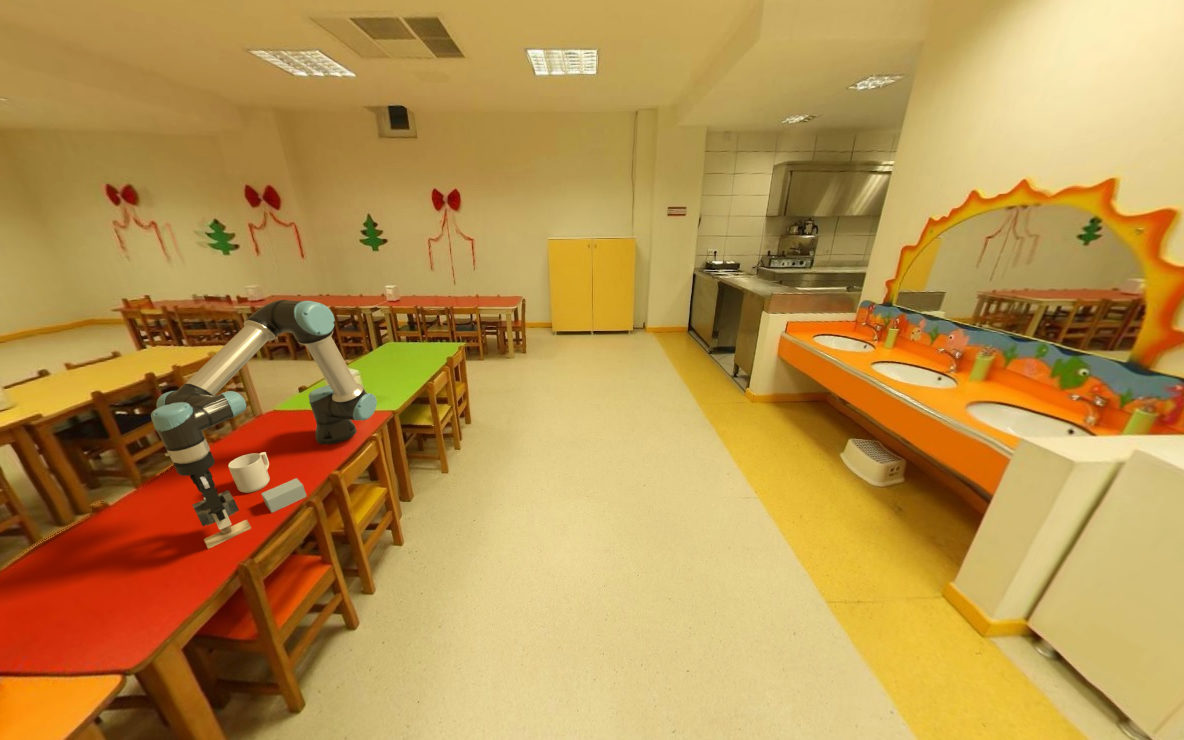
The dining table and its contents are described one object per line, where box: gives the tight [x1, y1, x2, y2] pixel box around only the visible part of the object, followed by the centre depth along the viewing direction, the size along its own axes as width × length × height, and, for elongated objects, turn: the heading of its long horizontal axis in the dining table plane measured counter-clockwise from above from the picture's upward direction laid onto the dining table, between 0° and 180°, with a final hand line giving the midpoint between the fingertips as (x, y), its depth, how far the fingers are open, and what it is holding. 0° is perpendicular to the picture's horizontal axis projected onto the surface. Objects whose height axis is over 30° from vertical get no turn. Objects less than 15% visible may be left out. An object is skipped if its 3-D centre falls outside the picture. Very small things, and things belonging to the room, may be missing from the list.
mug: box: [228, 451, 271, 494], centre depth 136 cm, size 12×9×11 cm
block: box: [261, 477, 308, 513], centre depth 129 cm, size 10×6×5 cm, turn 143°
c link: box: [192, 490, 240, 527], centre depth 112 cm, size 8×8×4 cm
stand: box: [203, 512, 252, 550], centre depth 113 cm, size 10×6×16 cm, turn 143°
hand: (221, 519), depth 114 cm, fingers open, 8 cm apart
